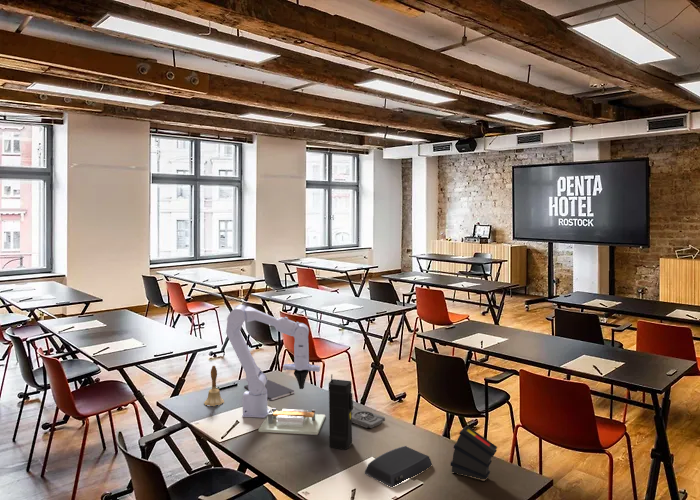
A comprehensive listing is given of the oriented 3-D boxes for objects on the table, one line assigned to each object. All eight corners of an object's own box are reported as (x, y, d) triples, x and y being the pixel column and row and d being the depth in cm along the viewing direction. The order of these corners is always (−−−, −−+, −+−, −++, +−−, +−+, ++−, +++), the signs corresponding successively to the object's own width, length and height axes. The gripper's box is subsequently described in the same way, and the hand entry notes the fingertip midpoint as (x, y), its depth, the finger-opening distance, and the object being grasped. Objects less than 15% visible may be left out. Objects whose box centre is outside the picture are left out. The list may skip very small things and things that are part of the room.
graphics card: (333, 413, 204) (354, 403, 213) (333, 422, 204) (354, 412, 213) (367, 426, 193) (387, 415, 202) (367, 435, 193) (387, 424, 202)
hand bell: (226, 399, 227) (225, 362, 226) (221, 406, 219) (220, 369, 217) (206, 399, 227) (205, 363, 226) (201, 406, 219) (200, 369, 217)
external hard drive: (362, 474, 165) (362, 461, 165) (403, 453, 178) (403, 442, 178) (393, 490, 156) (393, 477, 155) (434, 468, 169) (434, 455, 168)
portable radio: (355, 443, 185) (355, 373, 183) (349, 450, 180) (349, 378, 177) (334, 439, 188) (333, 371, 186) (328, 447, 182) (327, 376, 180)
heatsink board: (258, 431, 195) (258, 418, 194) (270, 414, 211) (270, 402, 210) (317, 434, 192) (317, 421, 192) (325, 417, 208) (325, 404, 207)
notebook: (244, 389, 241) (271, 401, 225) (244, 385, 241) (271, 398, 225) (267, 382, 250) (295, 394, 234) (267, 379, 249) (295, 390, 234)
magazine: (445, 461, 169) (465, 424, 164) (481, 488, 163) (504, 450, 159) (441, 466, 166) (461, 428, 161) (478, 494, 160) (500, 456, 156)
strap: (269, 416, 201) (269, 413, 201) (271, 413, 204) (271, 410, 204) (312, 418, 199) (312, 414, 198) (314, 415, 201) (314, 411, 201)
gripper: (280, 356, 206) (281, 390, 208) (317, 358, 204) (317, 392, 206) (285, 351, 213) (285, 384, 215) (321, 353, 211) (321, 386, 213)
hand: (301, 388), depth 211 cm, fingers closed
